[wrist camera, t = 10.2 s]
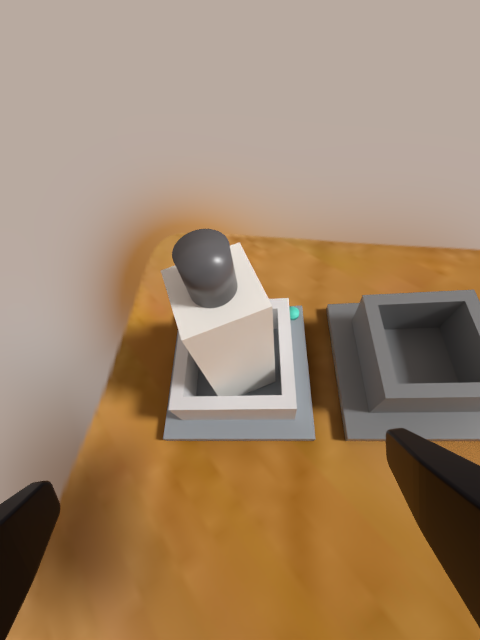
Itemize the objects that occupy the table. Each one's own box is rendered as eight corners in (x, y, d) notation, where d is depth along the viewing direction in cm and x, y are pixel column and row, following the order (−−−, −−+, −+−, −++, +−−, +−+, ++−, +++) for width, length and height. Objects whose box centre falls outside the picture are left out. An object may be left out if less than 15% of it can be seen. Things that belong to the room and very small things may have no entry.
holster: (513, 441, 18) (572, 428, 15) (345, 440, 19) (360, 429, 16) (457, 303, 23) (491, 268, 20) (326, 309, 24) (334, 277, 21)
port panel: (314, 440, 20) (320, 430, 16) (167, 440, 21) (145, 431, 18) (301, 310, 25) (304, 283, 21) (183, 316, 26) (168, 290, 22)
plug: (275, 381, 21) (270, 269, 10) (222, 403, 21) (161, 309, 10) (254, 335, 23) (232, 201, 12) (205, 354, 23) (140, 233, 12)
